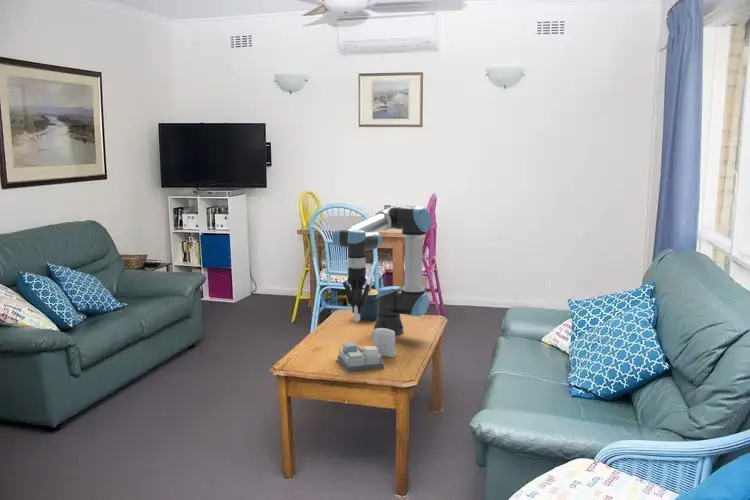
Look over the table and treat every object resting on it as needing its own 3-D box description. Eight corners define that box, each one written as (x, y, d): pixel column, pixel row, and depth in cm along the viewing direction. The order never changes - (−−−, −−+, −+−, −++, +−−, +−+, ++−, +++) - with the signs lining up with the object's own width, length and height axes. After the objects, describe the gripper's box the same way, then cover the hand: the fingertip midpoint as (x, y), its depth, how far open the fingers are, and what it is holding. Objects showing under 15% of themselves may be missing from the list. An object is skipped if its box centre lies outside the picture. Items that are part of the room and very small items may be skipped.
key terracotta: (369, 353, 274) (369, 345, 273) (372, 356, 269) (372, 348, 269) (358, 354, 272) (358, 346, 272) (361, 357, 268) (361, 349, 267)
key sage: (358, 359, 265) (358, 351, 265) (362, 363, 260) (362, 355, 260) (347, 360, 264) (347, 352, 263) (350, 364, 259) (350, 356, 258)
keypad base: (371, 356, 277) (372, 346, 276) (383, 368, 262) (384, 357, 261) (337, 360, 272) (337, 349, 271) (347, 372, 257) (347, 360, 256)
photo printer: (396, 355, 280) (396, 328, 278) (392, 357, 276) (393, 330, 274) (374, 352, 284) (375, 325, 282) (371, 354, 280) (371, 328, 278)
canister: (385, 317, 345) (385, 286, 342) (370, 322, 335) (370, 290, 332) (367, 313, 353) (367, 283, 350) (352, 317, 343) (352, 286, 340)
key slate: (354, 350, 271) (354, 342, 271) (357, 353, 267) (357, 345, 266) (343, 351, 270) (343, 343, 269) (346, 354, 265) (346, 346, 265)
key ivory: (374, 353, 267) (374, 345, 267) (378, 357, 262) (378, 349, 262) (363, 354, 265) (363, 346, 265) (366, 358, 261) (366, 350, 260)
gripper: (339, 267, 263) (339, 321, 267) (366, 269, 257) (367, 324, 261) (347, 264, 269) (347, 316, 273) (374, 266, 264) (374, 320, 268)
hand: (357, 320), depth 267 cm, fingers closed
